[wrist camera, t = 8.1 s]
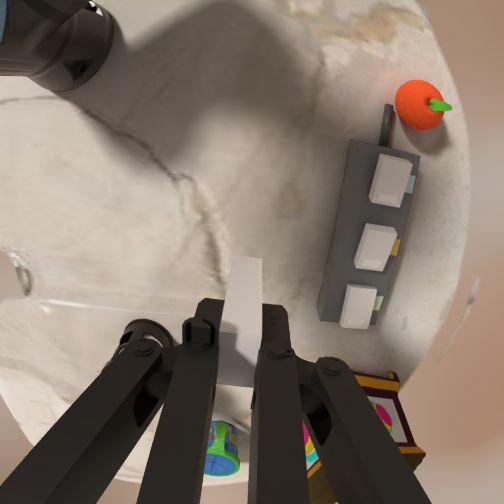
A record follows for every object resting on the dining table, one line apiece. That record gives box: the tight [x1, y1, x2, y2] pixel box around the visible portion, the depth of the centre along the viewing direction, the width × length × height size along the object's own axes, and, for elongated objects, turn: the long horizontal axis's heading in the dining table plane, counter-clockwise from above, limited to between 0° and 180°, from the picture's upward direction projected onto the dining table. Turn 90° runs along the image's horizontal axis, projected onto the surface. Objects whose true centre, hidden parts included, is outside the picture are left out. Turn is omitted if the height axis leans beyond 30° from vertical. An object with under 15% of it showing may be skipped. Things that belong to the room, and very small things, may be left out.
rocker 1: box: [368, 153, 413, 208], centre depth 37 cm, size 6×4×2 cm, turn 173°
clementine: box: [395, 80, 452, 130], centre depth 35 cm, size 8×7×7 cm
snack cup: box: [204, 421, 240, 476], centre depth 59 cm, size 16×10×10 cm
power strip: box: [317, 104, 420, 325], centre depth 43 cm, size 32×9×4 cm, turn 173°
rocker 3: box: [340, 284, 377, 329], centre depth 44 cm, size 6×4×2 cm, turn 173°
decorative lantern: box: [303, 358, 426, 504], centre depth 45 cm, size 20×20×30 cm
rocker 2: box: [354, 223, 397, 271], centre depth 40 cm, size 6×4×2 cm, turn 173°
